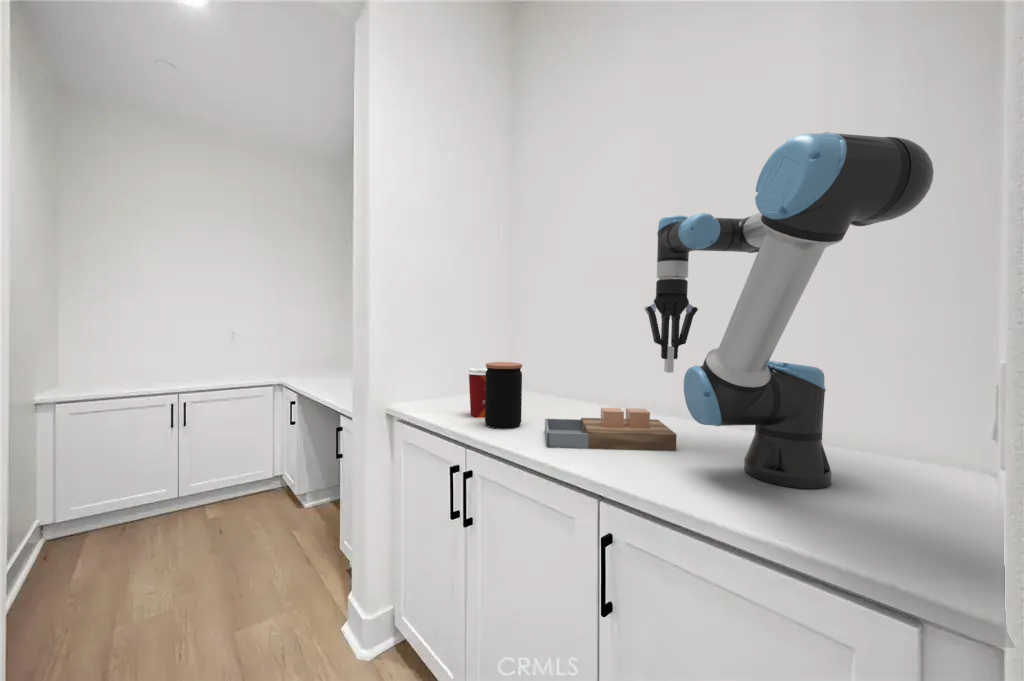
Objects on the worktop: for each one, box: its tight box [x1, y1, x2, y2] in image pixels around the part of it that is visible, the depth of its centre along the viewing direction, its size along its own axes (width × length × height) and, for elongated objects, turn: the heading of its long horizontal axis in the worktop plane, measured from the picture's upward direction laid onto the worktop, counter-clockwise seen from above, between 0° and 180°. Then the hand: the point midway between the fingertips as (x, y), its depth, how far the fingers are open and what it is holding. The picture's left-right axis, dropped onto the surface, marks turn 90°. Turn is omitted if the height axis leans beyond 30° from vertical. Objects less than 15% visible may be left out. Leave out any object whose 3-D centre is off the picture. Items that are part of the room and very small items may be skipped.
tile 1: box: [600, 407, 625, 428], centre depth 118 cm, size 5×5×4 cm
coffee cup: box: [467, 367, 487, 418], centre depth 145 cm, size 8×8×15 cm
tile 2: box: [625, 407, 651, 428], centre depth 117 cm, size 5×5×4 cm
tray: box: [544, 418, 589, 449], centre depth 118 cm, size 16×10×4 cm, turn 178°
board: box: [580, 417, 677, 452], centre depth 118 cm, size 16×21×4 cm
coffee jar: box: [484, 361, 523, 429], centre depth 133 cm, size 11×11×18 cm
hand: (668, 371), depth 117 cm, fingers closed
